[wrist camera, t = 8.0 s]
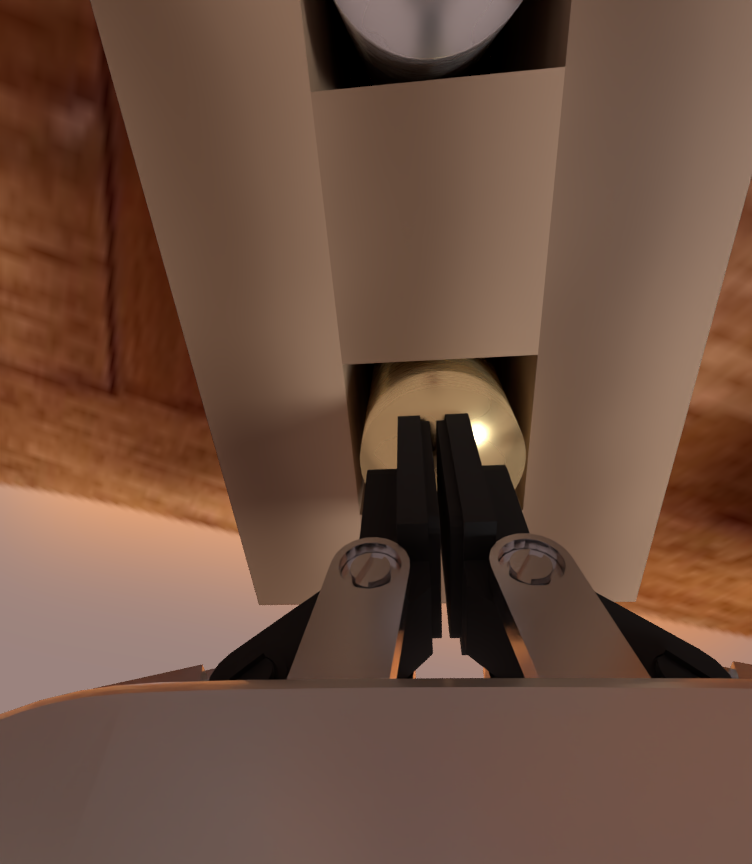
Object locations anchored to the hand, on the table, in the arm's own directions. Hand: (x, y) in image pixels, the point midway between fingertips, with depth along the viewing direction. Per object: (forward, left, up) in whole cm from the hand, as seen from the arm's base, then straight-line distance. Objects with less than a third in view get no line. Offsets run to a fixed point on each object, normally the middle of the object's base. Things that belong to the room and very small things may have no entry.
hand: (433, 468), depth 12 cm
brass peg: (0, 0, -9) cm, 9 cm away
